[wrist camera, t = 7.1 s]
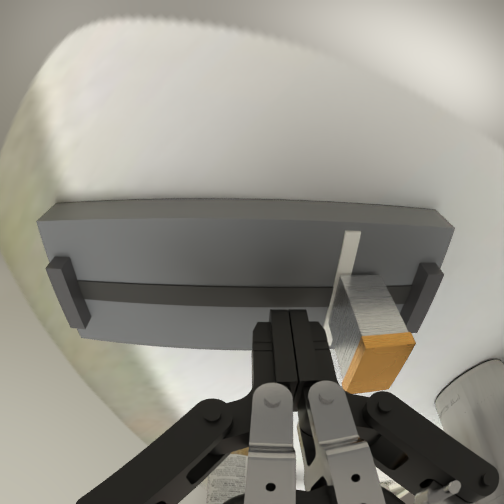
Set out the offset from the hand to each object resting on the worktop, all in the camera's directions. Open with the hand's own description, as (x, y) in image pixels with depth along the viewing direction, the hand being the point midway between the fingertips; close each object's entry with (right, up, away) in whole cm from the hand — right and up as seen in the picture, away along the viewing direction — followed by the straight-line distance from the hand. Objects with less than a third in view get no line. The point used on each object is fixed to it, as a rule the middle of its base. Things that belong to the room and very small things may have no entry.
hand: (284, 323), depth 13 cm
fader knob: (+3, +1, +1) cm, 4 cm away
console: (-2, +2, +3) cm, 4 cm away
